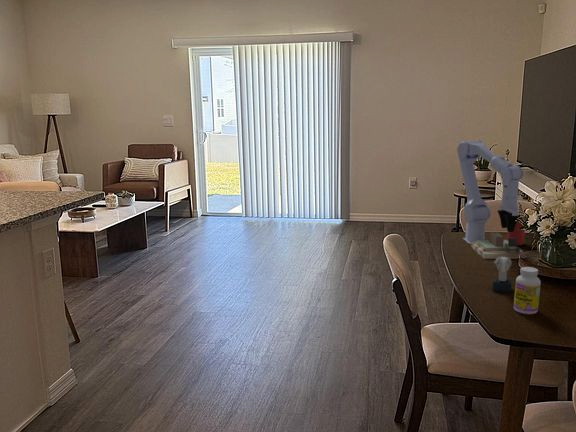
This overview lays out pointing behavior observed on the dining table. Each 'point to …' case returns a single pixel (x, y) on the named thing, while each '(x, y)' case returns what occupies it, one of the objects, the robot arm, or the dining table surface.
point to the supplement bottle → (527, 291)
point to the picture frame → (496, 251)
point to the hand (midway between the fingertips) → (507, 229)
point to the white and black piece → (502, 275)
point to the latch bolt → (511, 243)
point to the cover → (493, 241)
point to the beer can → (517, 234)
